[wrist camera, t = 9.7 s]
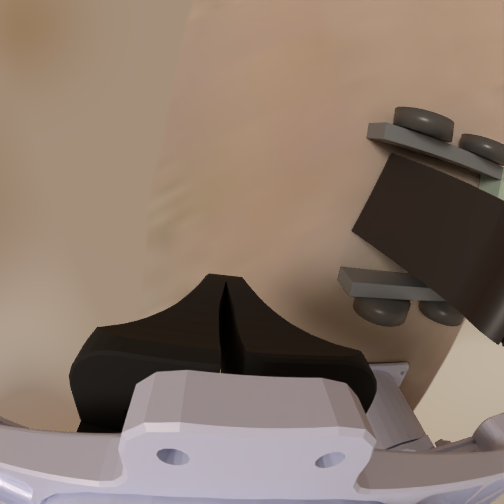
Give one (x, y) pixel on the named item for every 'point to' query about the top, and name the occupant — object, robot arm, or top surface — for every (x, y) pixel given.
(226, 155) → the top surface
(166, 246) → the top surface
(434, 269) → the phone stand
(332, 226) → the top surface
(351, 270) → the chassis bay
